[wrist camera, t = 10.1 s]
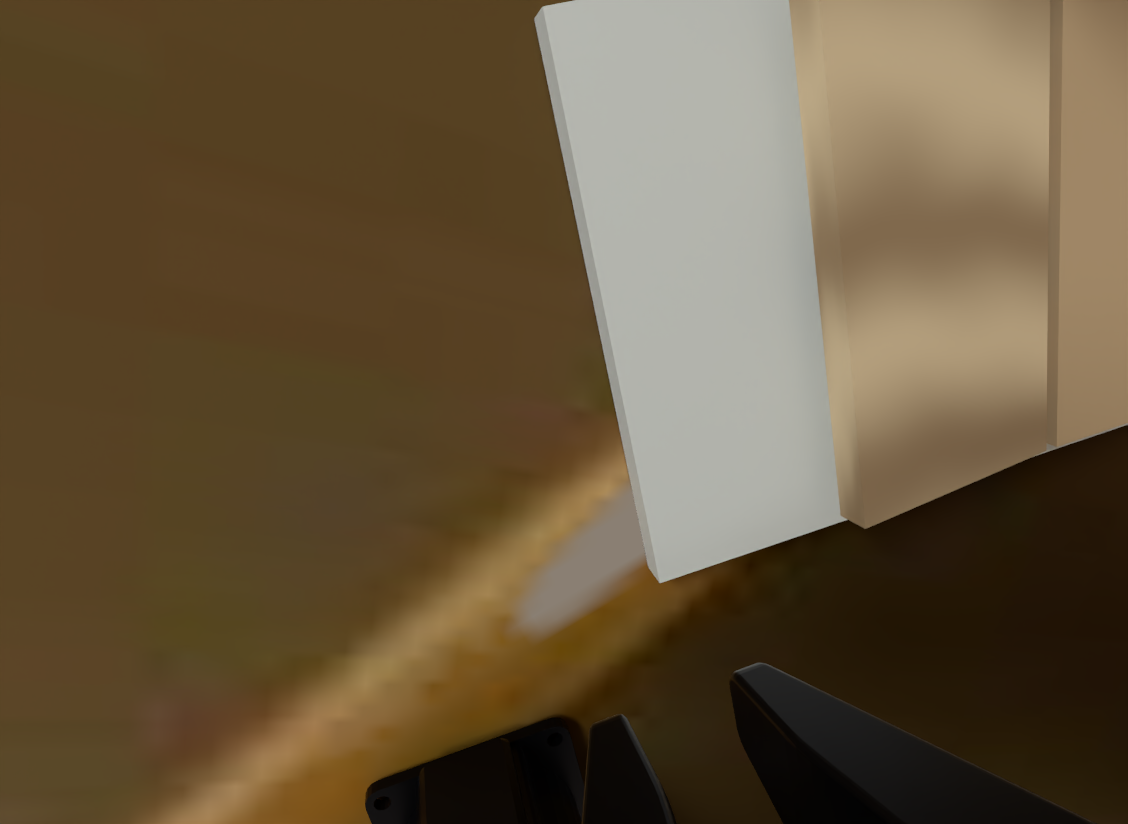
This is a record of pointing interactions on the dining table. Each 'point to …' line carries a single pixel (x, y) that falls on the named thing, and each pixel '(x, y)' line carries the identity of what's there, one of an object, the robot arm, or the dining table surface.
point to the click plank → (928, 238)
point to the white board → (783, 256)
